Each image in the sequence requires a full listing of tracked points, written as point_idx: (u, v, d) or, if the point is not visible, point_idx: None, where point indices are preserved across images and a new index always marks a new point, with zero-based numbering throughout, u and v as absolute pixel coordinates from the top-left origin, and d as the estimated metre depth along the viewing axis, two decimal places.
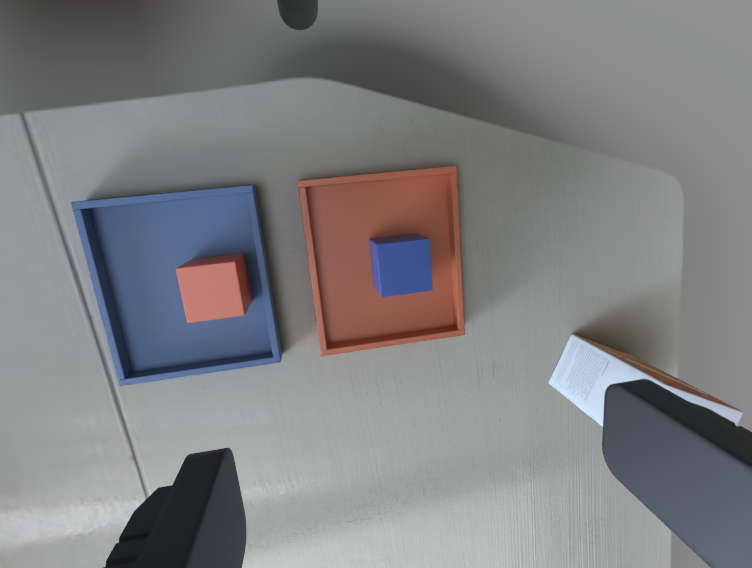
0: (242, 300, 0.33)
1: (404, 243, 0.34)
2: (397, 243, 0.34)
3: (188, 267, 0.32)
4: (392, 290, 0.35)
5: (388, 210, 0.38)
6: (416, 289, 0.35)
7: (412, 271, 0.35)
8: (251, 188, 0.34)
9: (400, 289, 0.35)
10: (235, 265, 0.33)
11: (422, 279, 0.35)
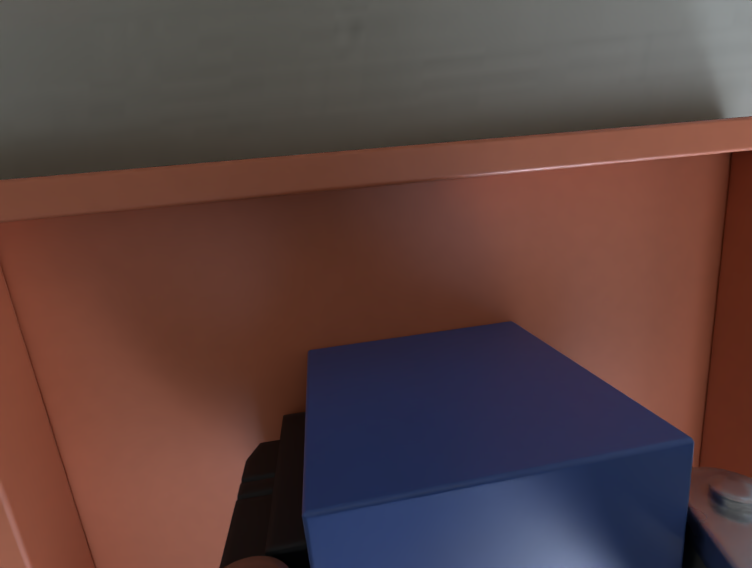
0: None
1: None
2: None
3: None
4: None
5: (213, 470, 0.09)
6: (664, 547, 0.05)
7: None
8: None
9: None
10: None
11: (607, 522, 0.05)
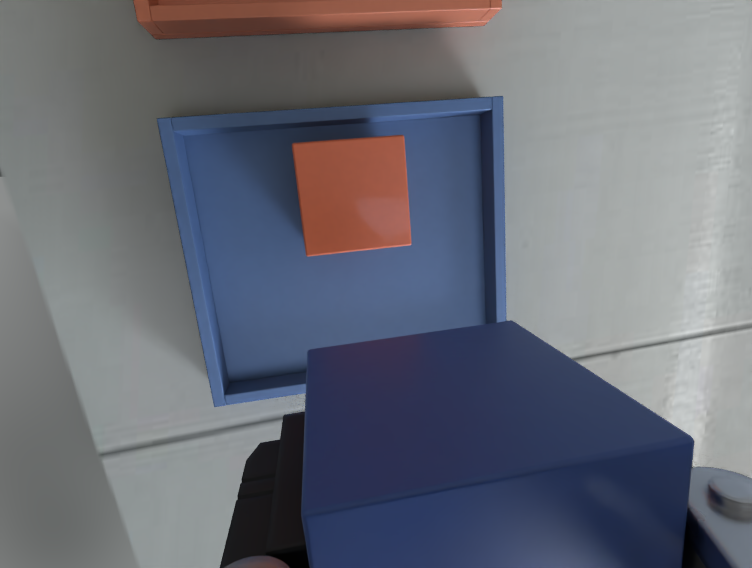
0: None
1: None
2: None
3: (305, 233, 0.17)
4: None
5: None
6: (664, 546, 0.05)
7: None
8: (163, 119, 0.18)
9: None
10: (300, 143, 0.16)
11: (606, 523, 0.05)
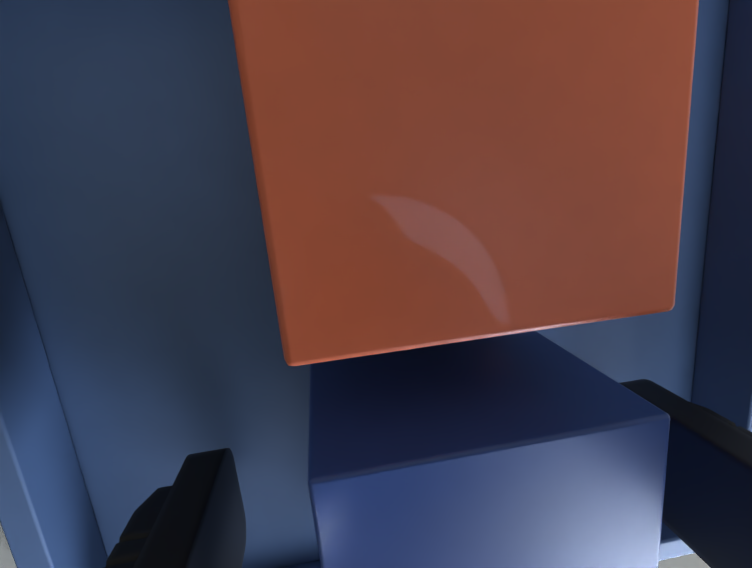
0: None
1: None
2: None
3: (278, 277, 0.04)
4: None
5: None
6: (644, 516, 0.05)
7: (530, 555, 0.05)
8: None
9: None
10: None
11: (589, 492, 0.05)
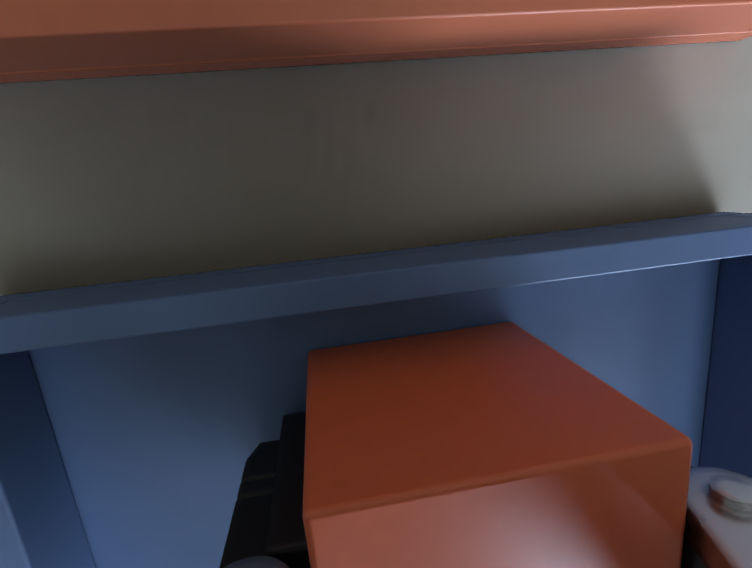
0: (587, 450, 0.05)
1: None
2: None
3: None
4: None
5: None
6: None
7: None
8: None
9: None
10: (336, 509, 0.04)
11: None
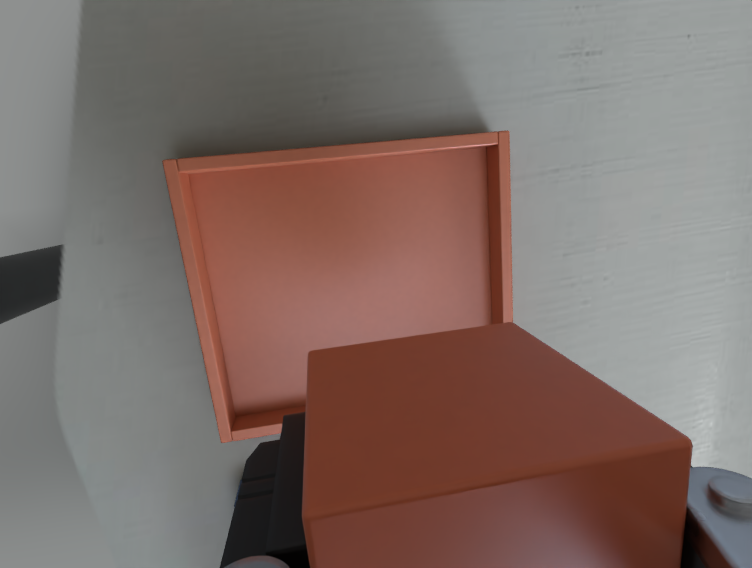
0: (586, 450, 0.05)
1: None
2: None
3: None
4: None
5: (266, 281, 0.21)
6: None
7: None
8: None
9: None
10: (336, 510, 0.04)
11: None
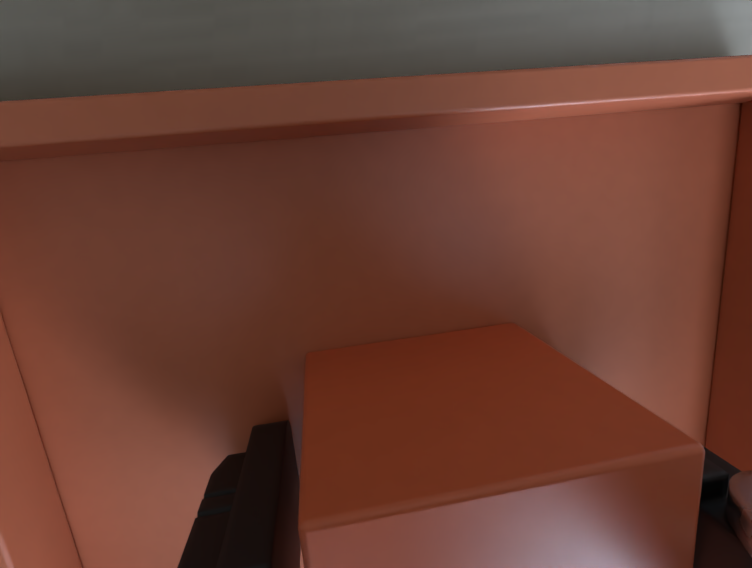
0: (595, 457, 0.05)
1: None
2: None
3: None
4: None
5: (197, 436, 0.08)
6: None
7: None
8: None
9: None
10: (334, 521, 0.04)
11: None
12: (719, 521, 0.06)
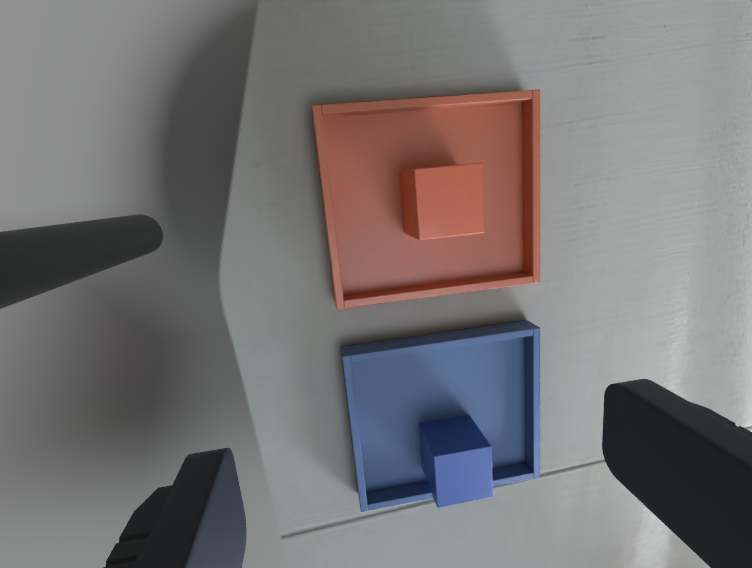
0: None
1: (438, 481, 0.31)
2: (437, 487, 0.31)
3: (419, 225, 0.27)
4: (486, 487, 0.32)
5: (369, 196, 0.30)
6: (488, 463, 0.32)
7: (468, 469, 0.32)
8: (346, 357, 0.31)
9: (486, 479, 0.32)
10: (419, 169, 0.26)
11: (478, 459, 0.31)
12: None
